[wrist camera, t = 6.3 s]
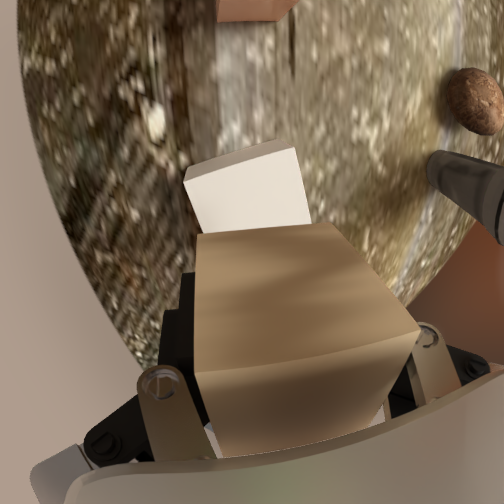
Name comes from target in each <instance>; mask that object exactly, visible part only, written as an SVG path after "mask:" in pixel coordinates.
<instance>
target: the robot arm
mask: <svg viewBox="0 0 504 504" xmlns="http://www.w3.org/2000/svg"><path fill="white" fill-rule="evenodd" d="M194 304H195V272H192V273H182V277H181V287H180V298H179V309H173V310H165V311H164V315H163V323H162V330H161V338H160V347H159V355H158V365H157V366H153V367H151V368H148V369H147V370H146V371H144V372H143V373H142V374H141V376H140V377H139V379H138V382H137V393H138V394H137V395H135V396H134V397H133V398H132V399H130V400H129V401H128V402H126V403H125V404H124V405H123V406H121V407H120V408H119V409H117V410H116V411H115V412H113V413H112V414H111V415H109V416H108V417H107V418H105V419H104V420H103V421H101V422H100V423H99V424H97V425H96V426H94V427H93V428H92V429H91V430H90V431H89V432H88V433H87V434H86V437H85V438H84V443H82V444H80V445H79V446H78V445H77V444H74V445H72V446H70V447H68V448H67V449H65V450H63V451H61V452H59V453H58V454H56V455H54V456H52V457H50V458H48V459H46V460H44V461H42V462H41V463H38V464H37V465H36V466H35V467H33V469H32V471H31V473H30V482H31V485H32V488H33V490H34V492H35V494H36V496H37V498H38V500H39V502H40V504H504V366H503V365H499V364H494V363H489V365H488V363H487V362H486V361H485V360H484V359H483V358H482V357H480V356H478V355H476V354H473V353H469V352H466V351H464V350H461V349H458V348H455V347H452V346H449V345H446V344H445V342H444V340H443V338H442V335H441V334H440V332H439V331H438V330H437V329H436V328H435V327H434V326H432V325H430V324H428V323H424V322H417V324H418V326H419V327H420V328H421V331H420V334H419V336H418V338H417V340H416V342H415V345H414V347H413V349H412V351H411V353H410V355H409V357H408V359H407V361H406V363H405V365H404V367H403V369H402V371H401V372H400V374H399V376H398V378H397V380H396V382H395V383H394V385H393V387H392V389H391V390H390V392H389V394H388V396H387V397H386V399H385V401H384V402H383V408H384V414H385V422H383V423H380V424H377V425H375V426H372V427H369V428H366V429H363V430H360V431H357V432H354V433H350V434H347V435H344V436H340V437H337V438H333V439H329V440H326V441H322V442H318V443H313V444H309V445H305V446H301V447H296V448H291V449H286V450H280V451H275V452H270V453H263V454H256V455H248V456H241V457H231V458H220V459H217V457H216V455H215V453H214V450H213V448H212V446H211V444H210V441H209V439H208V437H207V434H206V432H205V430H204V426H205V425H206V424H207V423H208V422H209V421H210V419H209V417H208V414H207V411H206V408H205V405H204V402H203V399H202V396H201V393H200V390H199V386H198V383H197V380H196V377H195V374H194Z"/></svg>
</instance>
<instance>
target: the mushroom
mask: <svg viewBox="0 0 504 504" xmlns="http://www.w3.org/2000/svg"><path fill="white" fill-rule="evenodd" d="M447 99H448V102H449V106H450V110H451V111H452V113H453V114H454V116H455V118H456V119H457V121H458V122H459V123H460V124H462V125H463V126H464V127H465V128H466V129H468V130H469V131H472V132H474V133H476V134H479V135H494V134H495V133H497V132H498V131H500V130H501V129H502V126H503V124H504V99H503V95H502V92H501V90H500V88H499V86H498V85H497V83H496V81H495V80H494V79H493V78H492V77H491V76H490V75H488V74H487V73H486V72H485V71H482V70H479V69H476V68H464V69H461V70H460V71H458V72H457V73H456V74H454V75H453V77H452V79H451V81H450V83H449V86H448V92H447Z"/></svg>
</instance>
